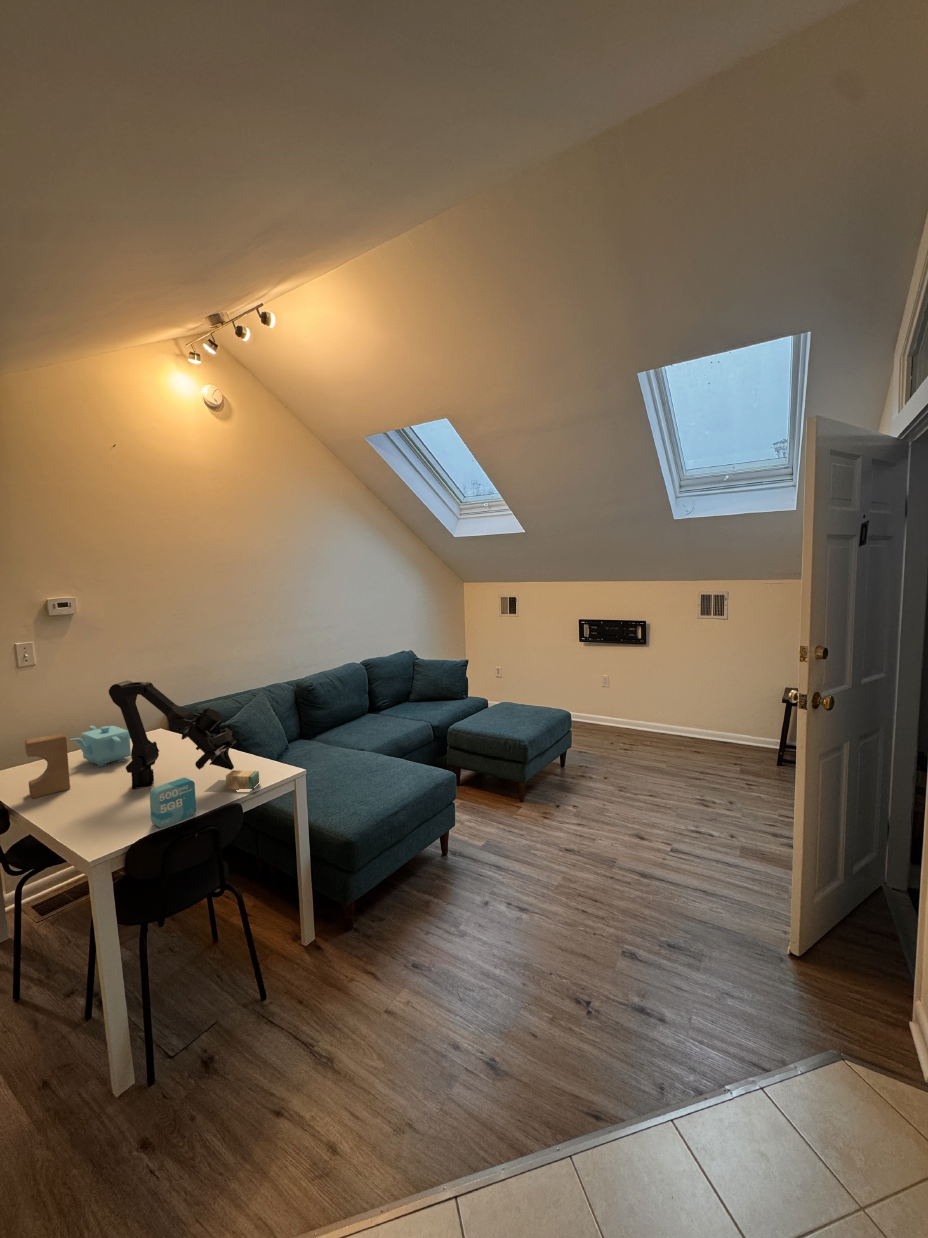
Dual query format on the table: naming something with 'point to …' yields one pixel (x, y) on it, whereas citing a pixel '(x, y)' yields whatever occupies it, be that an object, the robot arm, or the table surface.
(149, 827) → the table surface
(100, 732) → the teakettle
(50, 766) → the decorative block
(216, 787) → the slate mat
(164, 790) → the data package
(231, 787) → the maple block
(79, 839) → the table surface
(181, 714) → the robot arm
